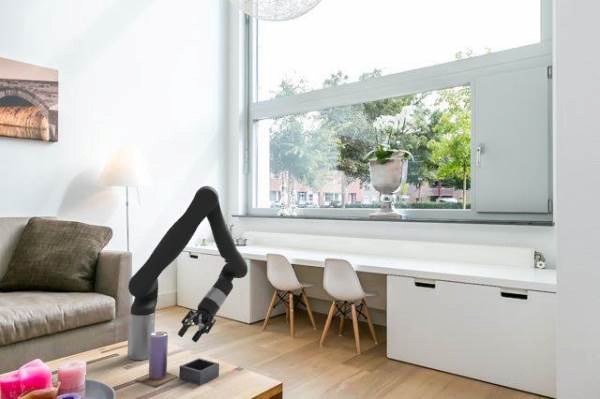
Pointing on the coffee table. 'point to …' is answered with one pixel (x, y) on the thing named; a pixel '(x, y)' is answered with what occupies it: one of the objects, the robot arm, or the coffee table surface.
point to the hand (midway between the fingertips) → (186, 338)
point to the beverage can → (158, 355)
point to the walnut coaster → (156, 383)
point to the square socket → (199, 371)
